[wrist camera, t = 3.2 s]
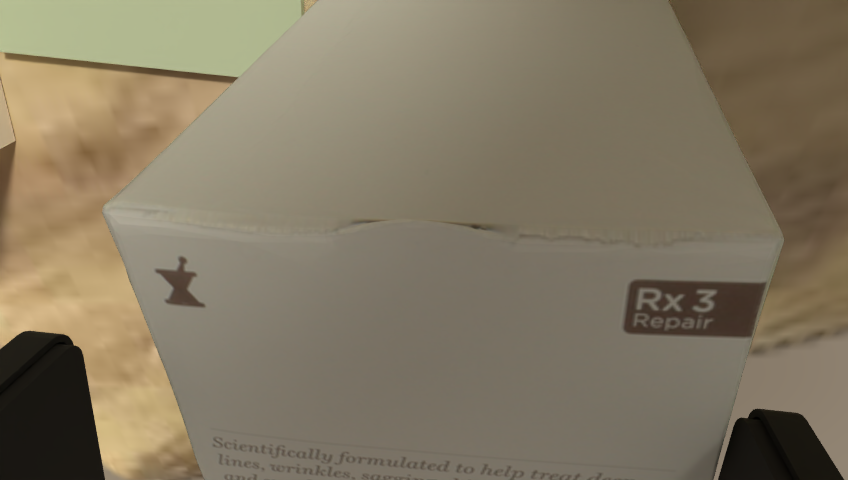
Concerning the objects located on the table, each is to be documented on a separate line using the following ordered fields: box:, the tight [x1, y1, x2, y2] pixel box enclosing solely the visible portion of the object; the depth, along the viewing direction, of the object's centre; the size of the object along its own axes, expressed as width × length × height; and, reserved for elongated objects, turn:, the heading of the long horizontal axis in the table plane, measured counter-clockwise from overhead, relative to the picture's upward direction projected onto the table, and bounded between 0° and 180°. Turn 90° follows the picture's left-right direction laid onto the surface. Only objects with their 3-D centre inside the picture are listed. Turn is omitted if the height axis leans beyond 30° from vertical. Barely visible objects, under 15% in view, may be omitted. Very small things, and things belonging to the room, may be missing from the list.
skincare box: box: [102, 0, 784, 480], centre depth 15 cm, size 8×6×15 cm
